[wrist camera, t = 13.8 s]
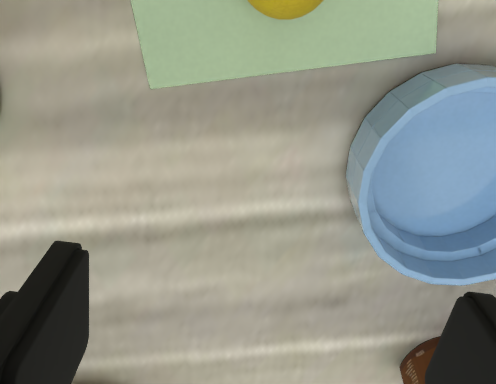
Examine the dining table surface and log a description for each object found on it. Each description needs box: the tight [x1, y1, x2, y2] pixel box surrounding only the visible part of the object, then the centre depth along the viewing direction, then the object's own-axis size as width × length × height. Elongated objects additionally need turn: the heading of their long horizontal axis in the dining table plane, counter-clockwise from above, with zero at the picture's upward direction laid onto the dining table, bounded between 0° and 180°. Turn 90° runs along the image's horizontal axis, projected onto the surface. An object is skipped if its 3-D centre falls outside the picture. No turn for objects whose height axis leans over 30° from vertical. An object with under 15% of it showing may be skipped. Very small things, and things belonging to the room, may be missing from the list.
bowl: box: [346, 64, 496, 285], centre depth 33 cm, size 15×15×5 cm
